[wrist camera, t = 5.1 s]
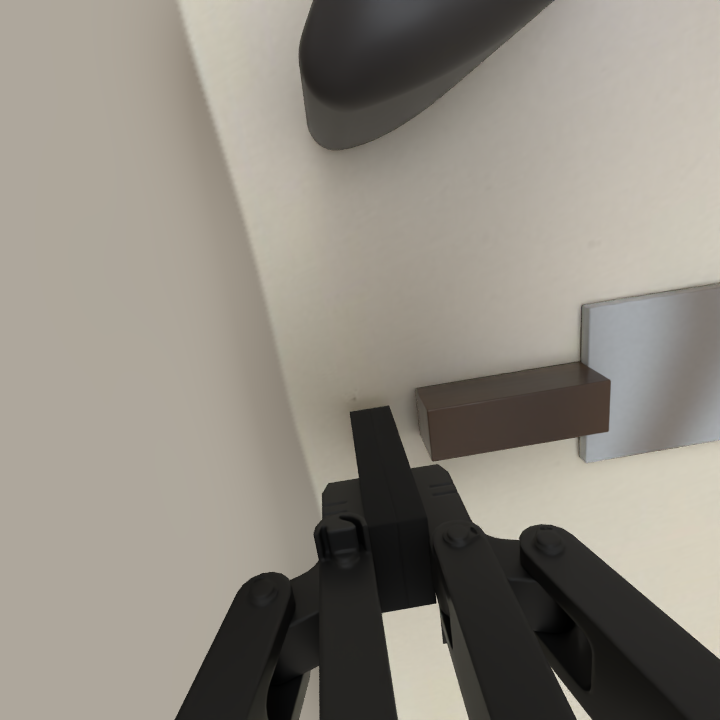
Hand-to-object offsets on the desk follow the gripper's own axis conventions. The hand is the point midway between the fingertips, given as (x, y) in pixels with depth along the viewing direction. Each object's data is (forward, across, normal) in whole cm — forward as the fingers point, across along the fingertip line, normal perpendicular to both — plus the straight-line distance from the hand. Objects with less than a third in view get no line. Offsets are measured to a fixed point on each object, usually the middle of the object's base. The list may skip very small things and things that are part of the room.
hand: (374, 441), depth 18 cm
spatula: (+2, +10, 0) cm, 10 cm away
